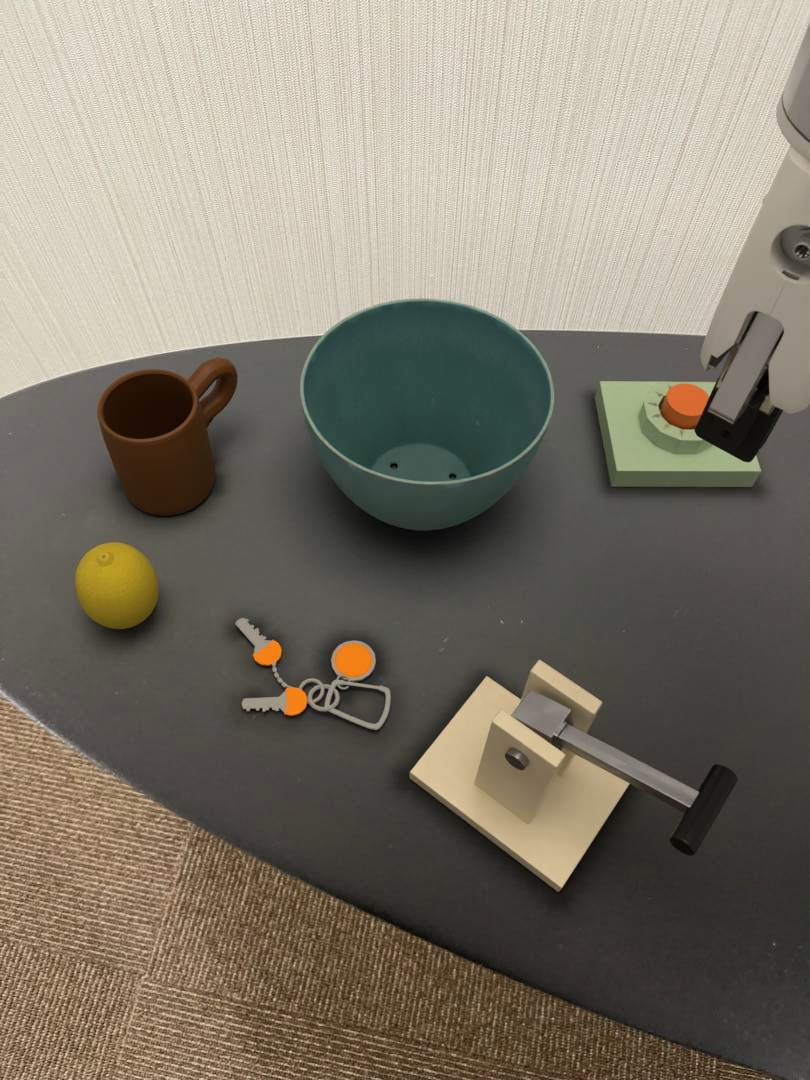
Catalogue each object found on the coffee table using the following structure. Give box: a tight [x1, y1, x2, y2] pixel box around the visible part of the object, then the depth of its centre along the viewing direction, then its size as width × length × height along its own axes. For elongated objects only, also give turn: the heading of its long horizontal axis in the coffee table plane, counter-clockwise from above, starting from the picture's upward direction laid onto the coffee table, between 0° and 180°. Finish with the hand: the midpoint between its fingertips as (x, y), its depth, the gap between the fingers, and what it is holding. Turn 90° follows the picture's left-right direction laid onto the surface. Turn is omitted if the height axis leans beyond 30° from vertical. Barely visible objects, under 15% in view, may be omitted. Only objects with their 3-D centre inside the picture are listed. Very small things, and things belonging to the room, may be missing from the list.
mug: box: [96, 356, 238, 517], centre depth 72 cm, size 12×8×9 cm, turn 139°
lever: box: [511, 689, 738, 857], centre depth 51 cm, size 12×5×2 cm, turn 52°
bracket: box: [408, 659, 631, 893], centre depth 57 cm, size 12×9×12 cm
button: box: [661, 383, 709, 429], centre depth 75 cm, size 4×4×2 cm
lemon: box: [74, 541, 160, 630], centre depth 64 cm, size 6×6×8 cm
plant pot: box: [299, 297, 555, 531], centre depth 70 cm, size 18×18×12 cm
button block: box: [594, 380, 762, 488], centre depth 77 cm, size 12×10×4 cm
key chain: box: [234, 617, 392, 731], centre depth 65 cm, size 13×7×1 cm, turn 76°
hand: (728, 439), depth 46 cm, fingers closed
